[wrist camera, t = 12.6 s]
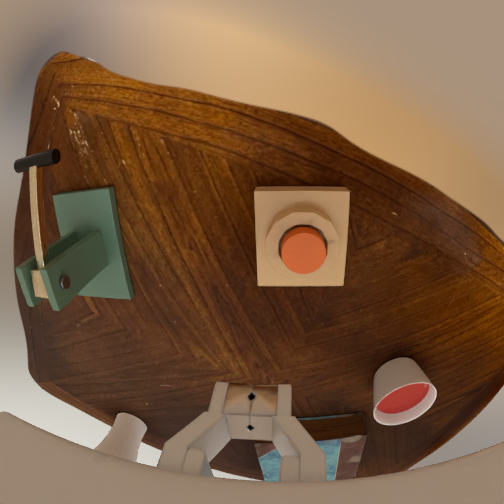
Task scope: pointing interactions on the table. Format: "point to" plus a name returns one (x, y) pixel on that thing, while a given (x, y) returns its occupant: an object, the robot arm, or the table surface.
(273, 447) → the book
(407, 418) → the white round tub
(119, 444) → the cup
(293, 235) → the button
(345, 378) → the table surface
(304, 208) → the call button
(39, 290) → the lever handle
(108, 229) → the green lever stand
